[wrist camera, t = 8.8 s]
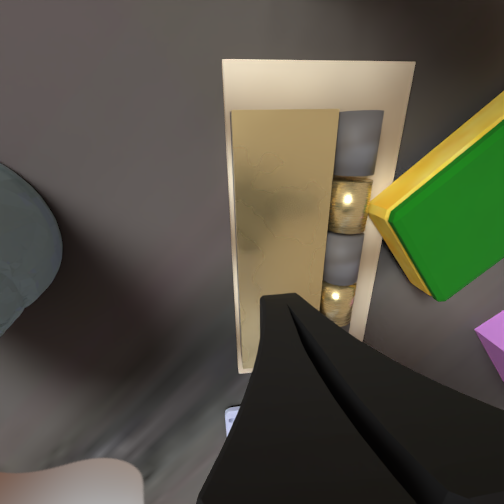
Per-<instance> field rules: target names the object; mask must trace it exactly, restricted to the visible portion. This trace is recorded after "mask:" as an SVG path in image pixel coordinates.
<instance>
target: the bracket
mask: <svg viewBox="0 0 504 504" xmlns="http://www.w3.org/2000/svg"><path fill="white" fill-rule="evenodd" d="M474 330H475V332H476V333H477V335H478V337H479V339H480V341H481V342H482V344H483V346H484V348H485V350H486V351H487V353H488V355H489V357H490V359H491V360H492V362H493V364H494V366H495V368H496V369H497V371H498V373H499V375H500V377H501V378H502V380H503V382H504V310H503V311H502V312H500V313H499V314H497V315H495V316H494V317H492V318H491V319H489V320H488V321H486V322H485V323H483V324H482V325H480V326H478V327H477V328H475V329H474Z"/></svg>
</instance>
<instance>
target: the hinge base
mask: <svg viewBox="0 0 504 504" xmlns="http://www.w3.org/2000/svg"><path fill="white" fill-rule="evenodd" d="M415 63H416V62H410V61H330V60H251V59H222V77H223V96H224V115H225V133H226V152H227V171H228V189H229V208H230V227H231V246H232V264H233V283H234V302H235V320H236V339H237V358H238V370H239V374H242V373H250V372H252V370H253V368H248V369H243V365H242V350H241V328H240V305H239V283H238V261H237V238H236V216H235V194H234V172H233V149H232V127H231V110H271V109H340V110H339V120H338V130H337V140H336V150H335V160H334V170H333V178H335V177H359V178H367V179H371V180H373V185H372V191H371V197H370V201H371V200H372V199H374V198H375V197H376V196H377V195H378V194H380V193H381V192H382V191H383V190H385V189H386V188H387V187H388V186H389V185H391V184H392V183H393V179H394V174H395V169H396V163H397V158H398V153H399V147H400V142H401V137H402V132H403V126H404V121H405V116H406V111H407V105H408V100H409V95H410V89H411V84H412V79H413V74H414V68H415ZM381 242H382V236H381V234H380V232H379V231H378V229H377V228H376V226H375V224H374V223H373V221H372V220H371V218H370V216H369V215H368V216H367V222H366V229H365V231H364V232H362V233H357V234H342V233H336V232H332V231H329V230H327V240H326V250H325V260H324V270H323V280H324V281H325V282H327V283H330V284H333V285H338V286H349V285H352V284H354V283H357V285H356V291H355V297H354V303H353V310H352V316H351V321H350V323H349V324H348V325H346V326H343V327H341V328H342V329H344V330H345V331H346V332H348V333H349V334H351V335H352V336H354V337H355V338H357V339H358V340H360V341H361V342H363V337H364V332H365V327H366V322H367V316H368V311H369V306H370V300H371V295H372V290H373V285H374V279H375V274H376V269H377V264H378V258H379V253H380V248H381Z"/></svg>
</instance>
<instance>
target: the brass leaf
mask: <svg viewBox="0 0 504 504" xmlns="http://www.w3.org/2000/svg"><path fill="white" fill-rule="evenodd" d="M339 110H340V109H271V110H231V127H232V149H233V172H234V194H235V216H236V238H237V261H238V283H239V305H240V328H241V350H242V365H243V369H248V368H253V367H254V363H255V359H256V355H257V351H258V346H259V341H260V298H261V297H262V296H263V295H274V294H285V293H297V294H298V295H300V296H301V297H302V298H303V299H305V300H306V301H307V302H308V303H309V304H311V305H312V306H313V307H314V308H316V309H317V310H318V311H319V312H321V313H322V314H323V315H325V316H326V317H327V318H329V319H330V320H331V321H333V322H334V323H335V324H337V325H338V326H339V327H343V326H346V325H348V324H349V323H350V321H351V316H352V310H353V303H354V297H355V291H356V285H357V283H354V284H352V285H349V286H338V285H333V284H330V283H327V282H325V281H324V280H323V270H324V260H325V250H326V240H327V230H329V231H332V232H336V233H342V234H357V233H362V232H364V231H365V229H366V222H367V216H368V210H369V204H370V197H371V191H372V185H373V180H371V179H367V178H359V177H335V178H333V170H334V160H335V150H336V140H337V130H338V120H339Z"/></svg>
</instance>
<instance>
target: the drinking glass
mask: <svg viewBox="0 0 504 504" xmlns="http://www.w3.org/2000/svg"><path fill="white" fill-rule="evenodd" d="M62 248H63V245H62V238H61V233H60V230H59V227H58V224H57V222H56V219H55V217H54V215H53V214H52V212H51V210H50V209H49V207H48V206H47V204H46V203H45V201H44V200H43V199H42V197H41V196H40V195H39V194H38V193H37V192H36V191H35V190H34V188H33V187H32V186H31V185H30V184H28V183H27V182H26V181H25V180H24V179H22V178H21V177H20V176H19V175H18V174H16V173H15V172H14V171H12V170H11V169H9V168H8V167H6V166H5V165H3V164H1V163H0V337H1V336H2V335H3V334H4V332H5V331H6V330H7V329H8V328H9V327H10V326H11V325H12V324H13V323H14V321H15V320H16V319H17V318H18V317H19V316H20V315H21V313H22V312H23V310H24V308H26V307H28V306H29V305H31V304H32V303H33V302H34V301H35V300H36V299H37V298H38V297H39V296H40V295H41V294H42V293H43V292H44V291H45V290H46V289H47V288H48V287H49V285H50V284H51V283H52V281H53V280H54V278H55V276H56V274H57V272H58V270H59V267H60V264H61V260H62Z"/></svg>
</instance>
